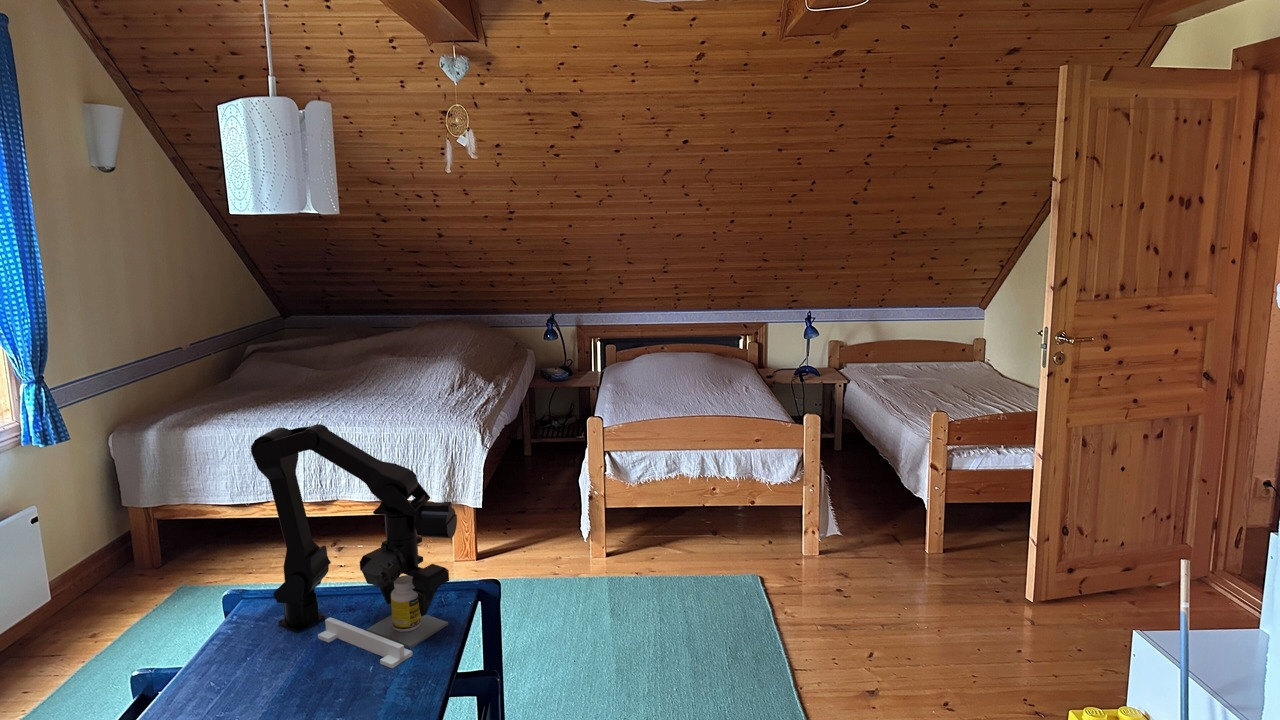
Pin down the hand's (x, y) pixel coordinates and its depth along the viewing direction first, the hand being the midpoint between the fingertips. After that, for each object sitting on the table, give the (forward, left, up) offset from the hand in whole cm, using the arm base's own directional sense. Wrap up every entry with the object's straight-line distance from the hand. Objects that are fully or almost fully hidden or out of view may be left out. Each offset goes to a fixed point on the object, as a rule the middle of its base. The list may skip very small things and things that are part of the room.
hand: (406, 609), depth 160 cm
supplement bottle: (0, 0, -4) cm, 4 cm away
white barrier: (-2, -9, -4) cm, 10 cm away
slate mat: (0, 0, -4) cm, 4 cm away
